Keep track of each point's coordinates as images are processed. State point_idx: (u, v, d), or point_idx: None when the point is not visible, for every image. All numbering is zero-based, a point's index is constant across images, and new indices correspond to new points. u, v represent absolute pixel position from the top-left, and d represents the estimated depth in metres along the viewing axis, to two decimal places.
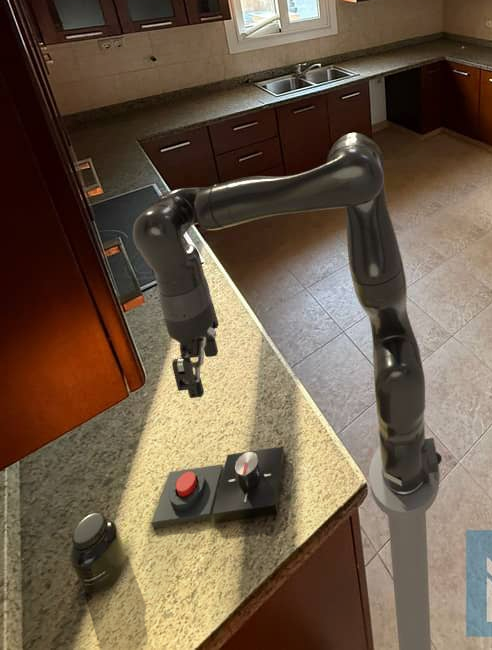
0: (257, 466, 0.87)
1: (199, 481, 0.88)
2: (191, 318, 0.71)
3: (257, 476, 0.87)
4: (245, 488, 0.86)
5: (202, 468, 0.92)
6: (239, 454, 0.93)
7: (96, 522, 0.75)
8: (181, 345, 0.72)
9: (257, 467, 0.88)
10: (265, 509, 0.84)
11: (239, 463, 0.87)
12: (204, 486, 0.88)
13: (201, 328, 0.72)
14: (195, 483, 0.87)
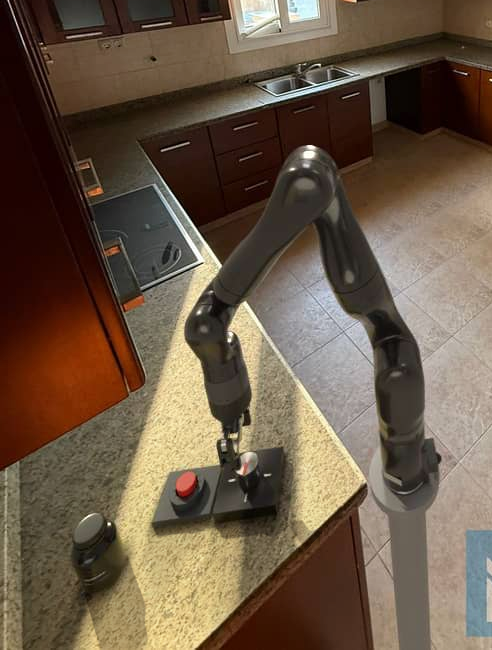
0: (257, 466, 0.87)
1: (199, 481, 0.88)
2: (233, 401, 0.78)
3: (257, 476, 0.87)
4: (245, 488, 0.86)
5: (202, 468, 0.92)
6: None
7: (96, 522, 0.75)
8: (223, 425, 0.78)
9: (257, 467, 0.88)
10: (265, 509, 0.84)
11: None
12: (204, 486, 0.88)
13: (241, 409, 0.79)
14: (195, 483, 0.87)
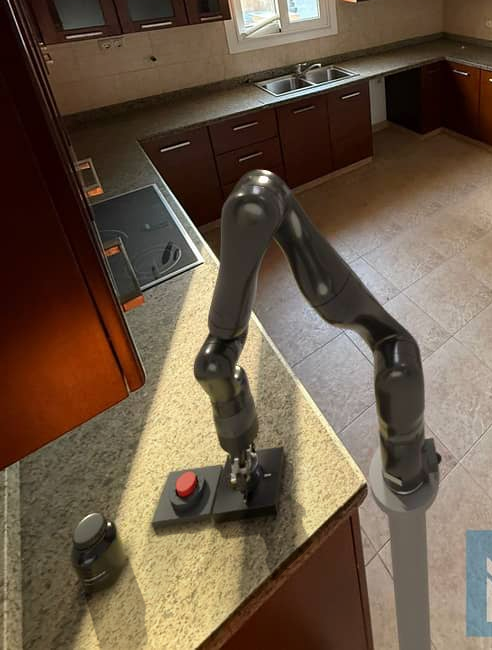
0: (257, 466, 0.87)
1: (199, 481, 0.88)
2: (241, 434, 0.80)
3: (257, 476, 0.88)
4: None
5: (202, 468, 0.92)
6: None
7: (96, 522, 0.75)
8: (231, 456, 0.81)
9: (257, 467, 0.88)
10: (265, 509, 0.84)
11: None
12: (204, 486, 0.88)
13: (249, 441, 0.82)
14: (195, 483, 0.87)
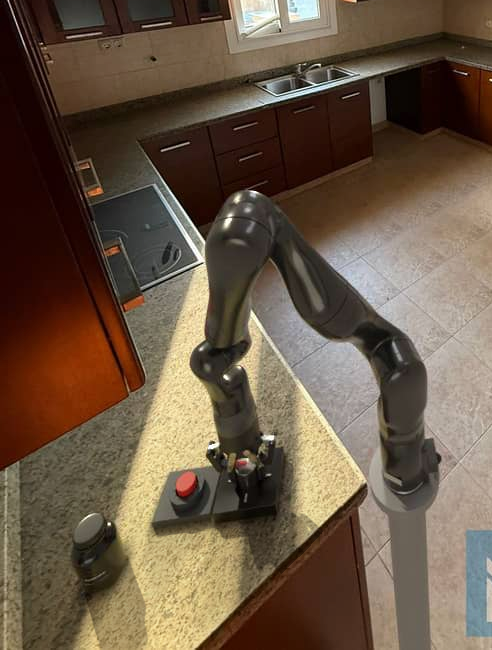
0: (242, 477, 0.85)
1: (199, 481, 0.88)
2: (216, 430, 0.81)
3: (241, 484, 0.86)
4: None
5: (202, 468, 0.92)
6: None
7: (96, 522, 0.75)
8: None
9: (242, 479, 0.86)
10: (265, 509, 0.84)
11: None
12: (204, 486, 0.88)
13: (221, 445, 0.81)
14: (195, 483, 0.87)
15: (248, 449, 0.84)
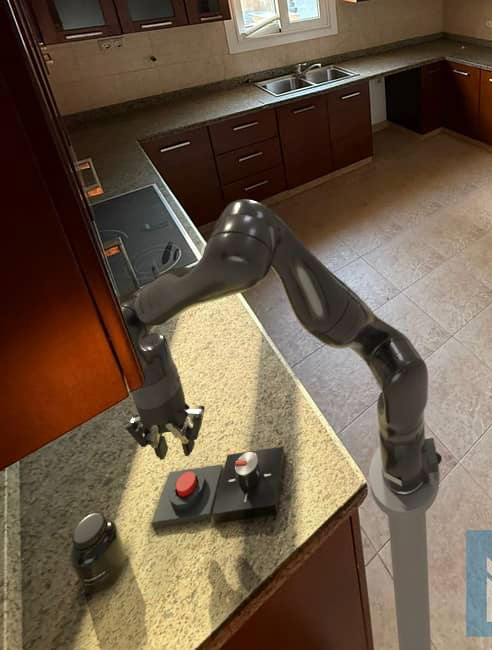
0: (242, 478, 0.85)
1: (199, 481, 0.88)
2: None
3: (241, 484, 0.86)
4: None
5: (202, 468, 0.92)
6: (239, 454, 0.93)
7: (96, 522, 0.75)
8: None
9: (242, 479, 0.86)
10: (265, 509, 0.84)
11: (249, 455, 0.89)
12: (204, 486, 0.88)
13: (139, 417, 0.77)
14: (195, 483, 0.87)
15: (171, 422, 0.80)
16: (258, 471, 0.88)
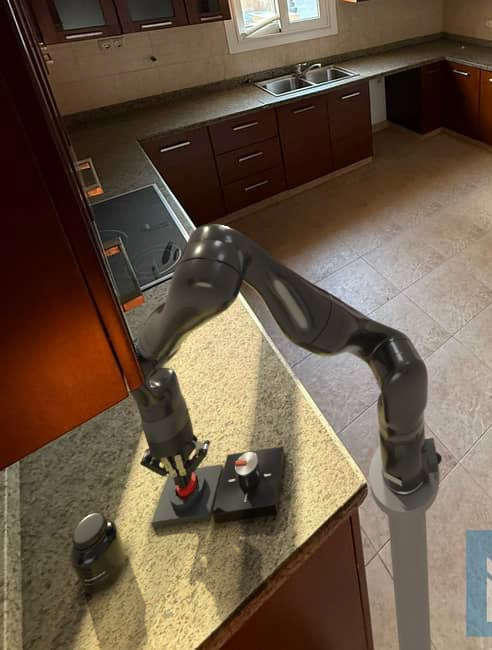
0: (242, 478, 0.85)
1: (199, 481, 0.88)
2: None
3: (241, 484, 0.86)
4: None
5: (202, 468, 0.92)
6: (239, 454, 0.93)
7: (96, 522, 0.75)
8: None
9: (242, 479, 0.86)
10: (265, 509, 0.84)
11: (249, 455, 0.89)
12: (204, 486, 0.88)
13: (149, 449, 0.80)
14: (195, 484, 0.87)
15: (180, 454, 0.82)
16: (258, 471, 0.88)
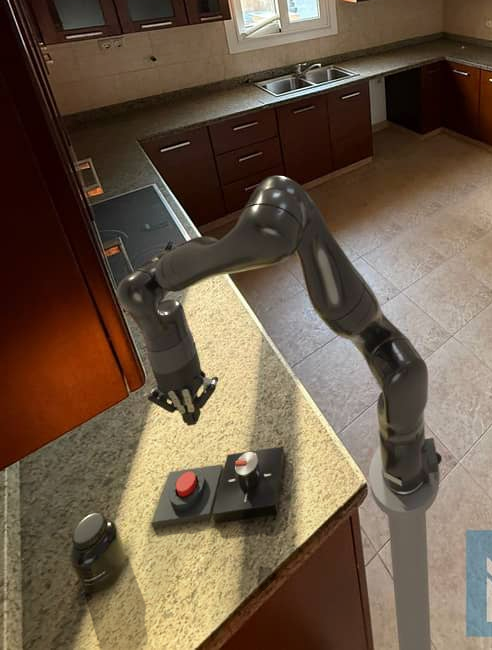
0: (242, 478, 0.85)
1: (199, 481, 0.88)
2: None
3: (241, 484, 0.86)
4: None
5: (202, 468, 0.92)
6: (239, 454, 0.93)
7: (96, 522, 0.75)
8: None
9: (242, 479, 0.86)
10: (265, 509, 0.84)
11: (249, 455, 0.89)
12: (204, 486, 0.88)
13: (156, 382, 0.78)
14: (195, 483, 0.87)
15: (188, 389, 0.80)
16: (258, 471, 0.88)
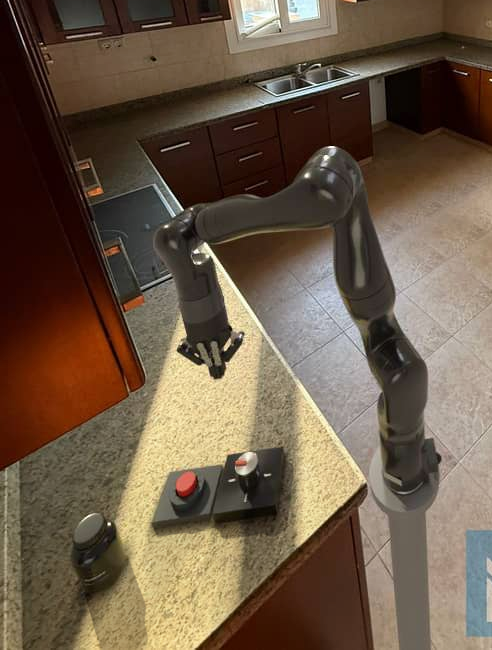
0: (242, 478, 0.85)
1: (199, 481, 0.88)
2: (182, 317, 0.80)
3: (241, 484, 0.86)
4: None
5: (202, 468, 0.92)
6: (239, 454, 0.93)
7: (96, 522, 0.75)
8: None
9: (242, 479, 0.86)
10: (265, 509, 0.84)
11: (249, 455, 0.89)
12: (204, 486, 0.88)
13: (187, 332, 0.80)
14: (195, 483, 0.87)
15: (216, 341, 0.82)
16: (258, 471, 0.88)
